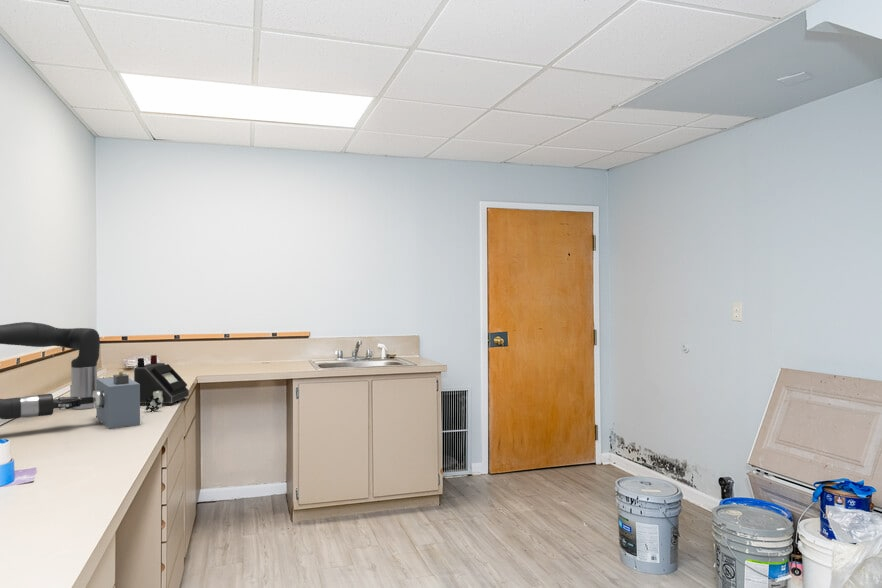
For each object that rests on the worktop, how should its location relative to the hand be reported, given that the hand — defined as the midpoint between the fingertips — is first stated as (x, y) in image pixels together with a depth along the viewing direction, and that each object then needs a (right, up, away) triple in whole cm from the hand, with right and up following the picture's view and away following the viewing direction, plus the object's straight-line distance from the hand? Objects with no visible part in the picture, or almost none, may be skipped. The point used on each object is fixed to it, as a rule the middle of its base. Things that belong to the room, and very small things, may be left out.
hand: (93, 399), depth 214 cm
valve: (+10, -9, +27) cm, 30 cm away
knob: (+4, -3, +3) cm, 6 cm away
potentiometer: (+10, +6, +1) cm, 12 cm away
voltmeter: (+6, -9, +42) cm, 43 cm away
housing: (+6, -9, +5) cm, 12 cm away
